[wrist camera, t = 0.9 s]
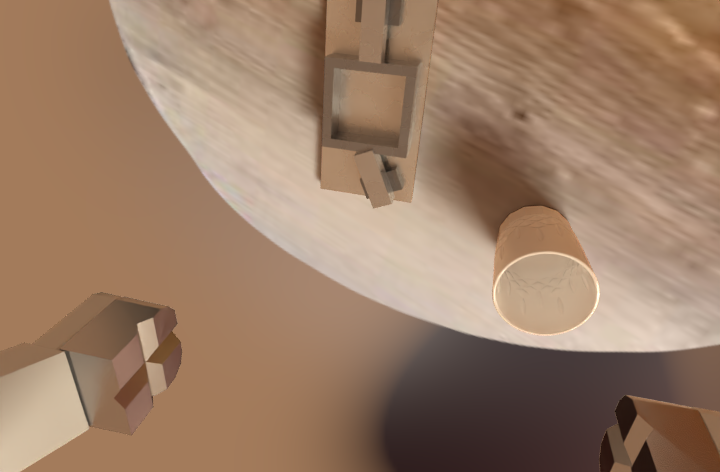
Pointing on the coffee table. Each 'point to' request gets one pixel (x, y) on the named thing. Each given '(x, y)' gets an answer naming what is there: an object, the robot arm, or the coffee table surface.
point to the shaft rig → (375, 95)
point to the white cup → (542, 273)
